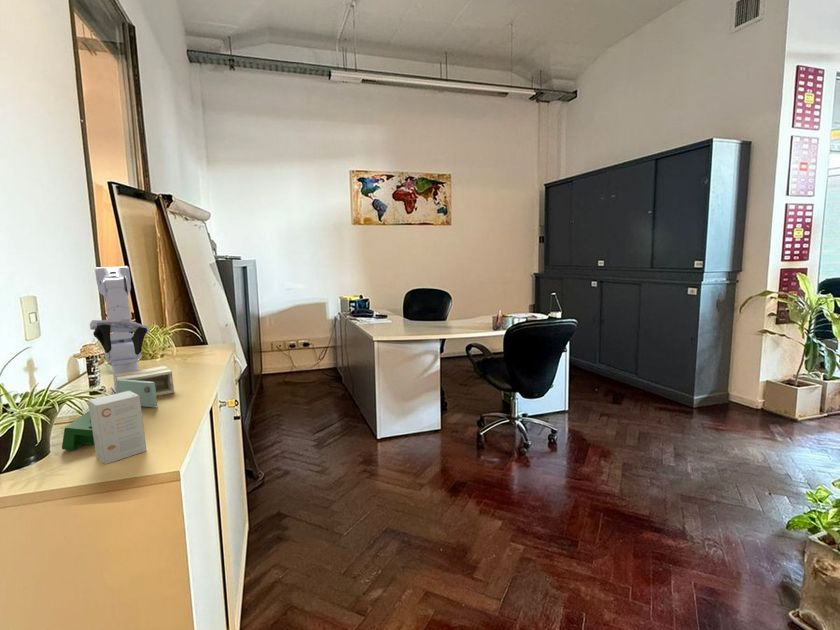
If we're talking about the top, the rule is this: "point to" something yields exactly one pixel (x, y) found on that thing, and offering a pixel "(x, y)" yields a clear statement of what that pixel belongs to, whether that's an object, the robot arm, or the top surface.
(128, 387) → the door
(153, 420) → the top surface
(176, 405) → the top surface
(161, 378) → the cabinet
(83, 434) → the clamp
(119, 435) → the small box
